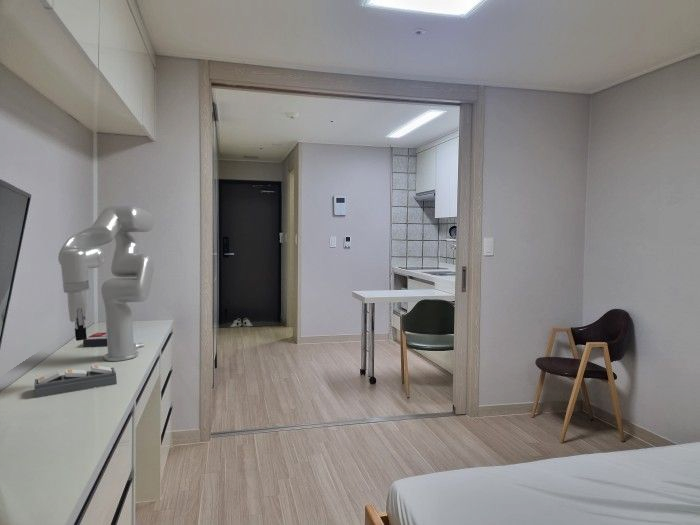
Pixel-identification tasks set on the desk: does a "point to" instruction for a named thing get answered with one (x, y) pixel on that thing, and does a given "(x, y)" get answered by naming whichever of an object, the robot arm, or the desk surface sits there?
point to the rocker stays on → (49, 377)
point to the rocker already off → (101, 369)
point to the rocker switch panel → (74, 383)
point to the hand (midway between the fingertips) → (81, 339)
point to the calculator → (96, 340)
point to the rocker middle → (75, 373)
